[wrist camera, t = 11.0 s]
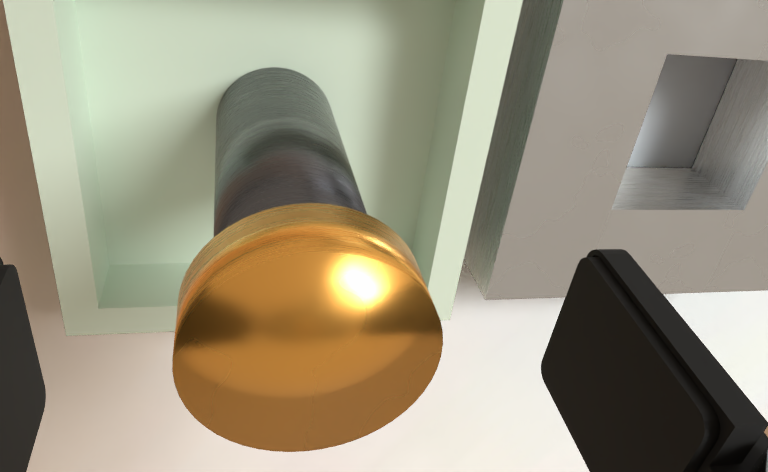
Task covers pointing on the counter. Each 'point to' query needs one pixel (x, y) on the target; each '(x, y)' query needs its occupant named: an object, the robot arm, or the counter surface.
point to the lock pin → (297, 285)
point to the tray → (198, 128)
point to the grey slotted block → (623, 151)
